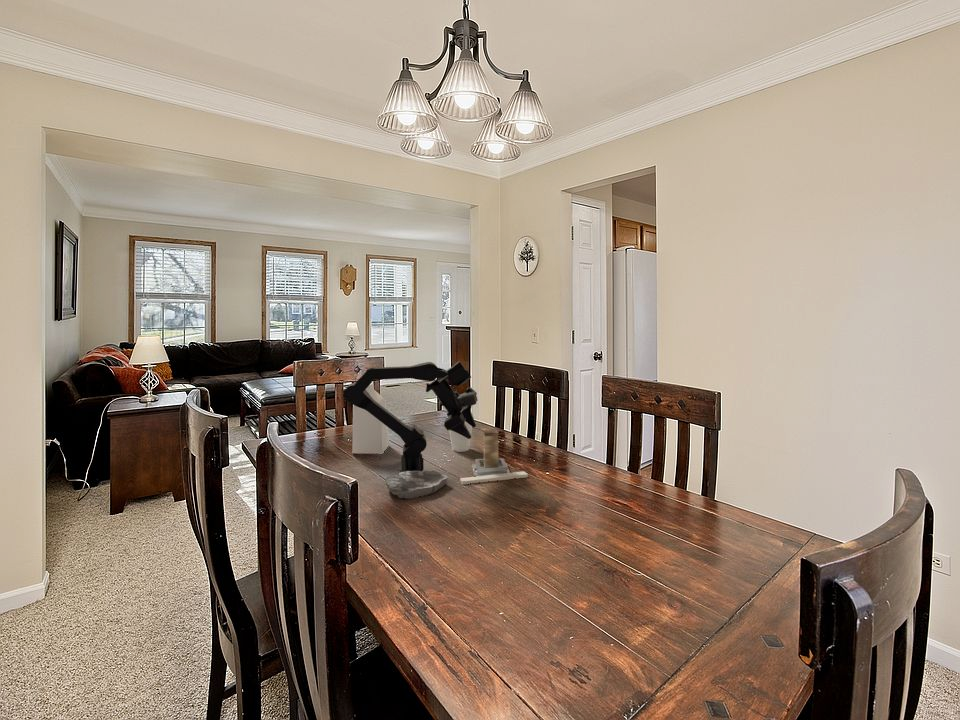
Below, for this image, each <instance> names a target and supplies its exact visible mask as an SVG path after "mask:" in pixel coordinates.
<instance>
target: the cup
mask: <svg viewBox="0 0 960 720" xmlns="http://www.w3.org/2000/svg"><path fill="white" fill-rule="evenodd" d="M465 425H466V427H467V429H468V431H469V433H470V435H471V436H472V430H473V427H472V426H471V425H469V424H468V423H467V422H466V421H465ZM448 431H449V438H450V442H451V443H450V444H451V450H452V451H453V452H456V453H464V452H468V451H469V450H470V447H471V440H472V437H471V438H470V439H468V438H466V437H464V436H462V435H460V434H458V433H456V432H454V431H452V430H451V431H450V430H448Z"/></svg>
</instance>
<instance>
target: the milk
mask: <svg viewBox="0 0 960 720" xmlns="http://www.w3.org/2000/svg"><path fill="white" fill-rule="evenodd" d="M374 388H375V385H374V383H373V382H372V383H371V384H370V385H369V386H368V387H367V388H366V391H367V392H368V393H369V395H370V396H371V397H372V399H373V400H374V401H376V402H377V403H378V404H380V405H381V406H382V407H384V408H385V409H386V410H387V411H388V407H387V401H386V399H385V398H384V397H383V396H382V395H381V394H380V393H379V392H377V391H376V390H375V389H374ZM389 435H390V434H389V428H388V427H387V426H386V425H385V424H383V423H382V422H381V421H379V420H378V419H377V418H375V417H374V416H373V415H372V414H370V413H369V412H368V411H366V410H364V409H362V408H359V407H357V406H355V405H353V407H352V444H351V445H352V447H351V448H352V449H351V450H352V451H351V452H352V453H375V454H376V453H379V454H383V453H384V451H385V450H386V449H387V447H388V446H389V447H390V437H389ZM389 447H388V448H389ZM387 450H388V449H387ZM387 450H386V451H387ZM386 451H385V452H386ZM352 453H351V454H352ZM384 454H385V453H384ZM384 454H383V455H384Z"/></svg>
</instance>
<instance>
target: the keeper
mask: <svg viewBox="0 0 960 720" xmlns="http://www.w3.org/2000/svg"><path fill="white" fill-rule="evenodd" d="M471 467H472V473H473V477H474V476H485V475H494V474H504V473H511V472H510V469H509V467H508V464H507V463H506V461H505V459H504V458H501V457H500V458H499V457H498V467H484V458H475V461H474V464H473V463H472V464H471Z"/></svg>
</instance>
